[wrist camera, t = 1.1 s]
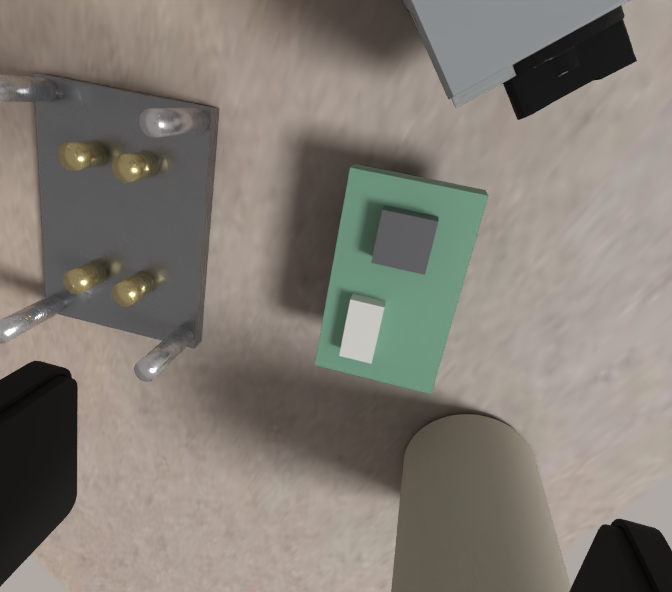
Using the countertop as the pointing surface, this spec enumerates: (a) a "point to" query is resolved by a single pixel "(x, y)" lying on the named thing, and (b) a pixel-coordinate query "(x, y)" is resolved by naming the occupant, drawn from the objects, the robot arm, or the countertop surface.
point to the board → (397, 275)
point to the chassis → (121, 210)
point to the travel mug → (474, 513)
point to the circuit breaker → (522, 46)
